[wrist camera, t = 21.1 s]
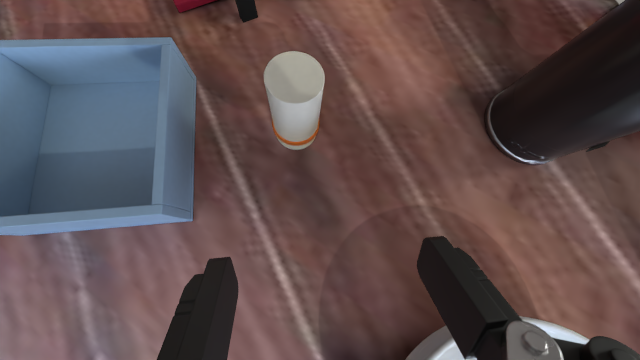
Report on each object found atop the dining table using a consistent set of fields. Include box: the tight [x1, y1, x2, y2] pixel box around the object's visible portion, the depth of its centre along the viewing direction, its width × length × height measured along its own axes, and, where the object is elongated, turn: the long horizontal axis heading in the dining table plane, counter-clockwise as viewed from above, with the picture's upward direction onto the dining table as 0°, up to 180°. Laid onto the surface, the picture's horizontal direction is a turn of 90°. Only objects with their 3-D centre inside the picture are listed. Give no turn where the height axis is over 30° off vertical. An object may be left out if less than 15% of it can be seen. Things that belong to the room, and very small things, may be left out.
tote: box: [0, 37, 196, 236], centre depth 22 cm, size 16×15×6 cm
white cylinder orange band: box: [264, 51, 325, 150], centre depth 23 cm, size 5×5×9 cm
